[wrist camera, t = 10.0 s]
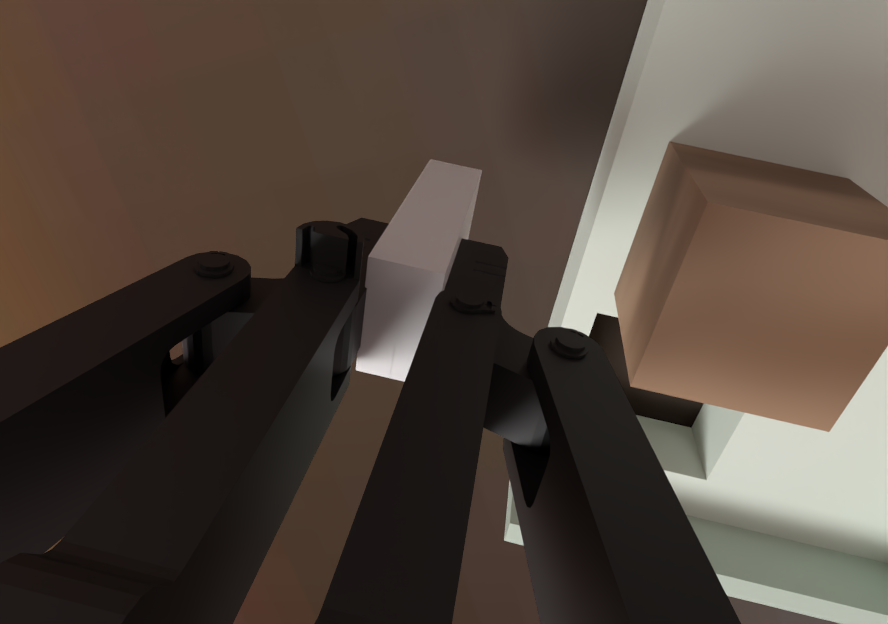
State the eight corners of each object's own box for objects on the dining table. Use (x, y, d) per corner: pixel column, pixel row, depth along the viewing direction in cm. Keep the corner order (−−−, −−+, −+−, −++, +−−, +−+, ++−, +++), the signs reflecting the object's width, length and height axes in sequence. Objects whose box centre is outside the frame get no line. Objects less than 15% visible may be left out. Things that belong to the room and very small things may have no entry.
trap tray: (766, -388, 14) (877, -574, 9) (1518, -270, 13) (2077, -405, 8) (513, 440, 27) (504, 540, 22) (869, 524, 26) (937, 647, 22)
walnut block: (669, 141, 17) (707, 202, 13) (848, 178, 17) (950, 253, 12) (613, 293, 19) (630, 386, 15) (768, 327, 19) (829, 432, 15)
